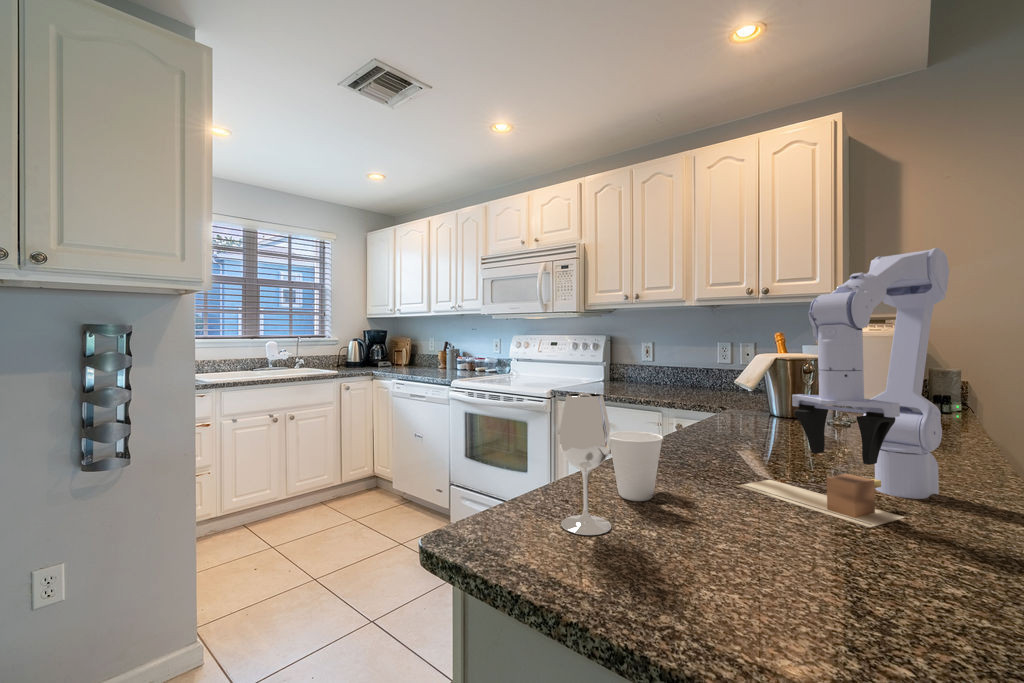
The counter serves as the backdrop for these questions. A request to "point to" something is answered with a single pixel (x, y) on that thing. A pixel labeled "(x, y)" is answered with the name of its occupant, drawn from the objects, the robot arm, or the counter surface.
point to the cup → (635, 463)
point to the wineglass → (585, 451)
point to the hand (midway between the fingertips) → (842, 458)
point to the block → (851, 495)
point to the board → (815, 502)
